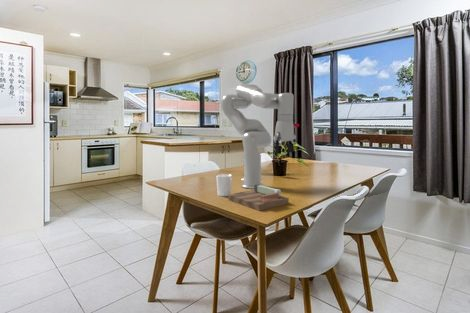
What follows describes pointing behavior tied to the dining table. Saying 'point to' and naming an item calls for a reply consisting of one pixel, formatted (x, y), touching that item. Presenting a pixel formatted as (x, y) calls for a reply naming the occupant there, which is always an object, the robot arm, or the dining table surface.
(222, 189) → the white cup
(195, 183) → the dining table surface
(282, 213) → the dining table surface
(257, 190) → the stool leg
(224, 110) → the robot arm
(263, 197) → the stool seat
